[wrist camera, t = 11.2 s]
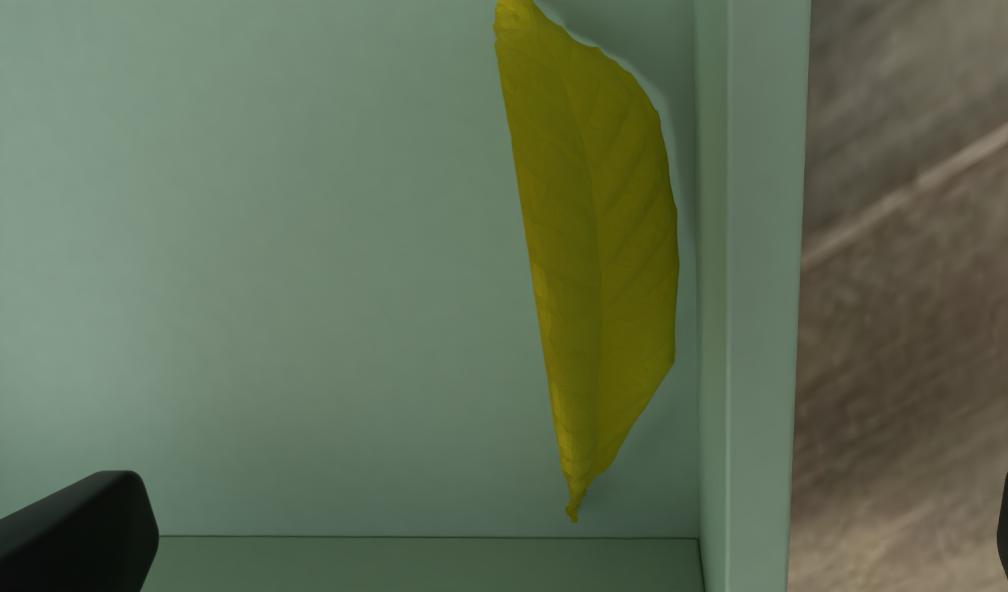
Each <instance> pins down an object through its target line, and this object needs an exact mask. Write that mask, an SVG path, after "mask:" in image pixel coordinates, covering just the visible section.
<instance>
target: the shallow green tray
mask: <svg viewBox="0 0 1008 592" xmlns="http://www.w3.org/2000/svg"><path fill="white" fill-rule="evenodd" d="M533 1H534V3H535V5H537V7H538V8H539V9H540V10H541V11H542V12H543V13H544V15H545V16H546V17H547V18H548V19H550V20H551V21H553V22H554V23H556V24H557V25H561V26H563V27H564V28H565V30H566V31H567V33H568V34H569V35H570V36H571V37H572V38H573V39H575V40H576V41H578V42H579V43H582V44H584V45H587V46H590V47H595V46H596V47H599V48H600V50H601V51H602V52H603V53H604V54H605V55H606V56H607V57H609V58H611V59H612V60H615V61H617V63H618V64H619V66H621V67H622V68H623V69H624V70H626V71H628V72H630V73H632V74H633V76H634V77H635V79H636V80H637V81H638V83H639V85H640V86H641V87H642V88H643V90H644V91H645V92H646V94H647V95H648V97H649V99H650V101H651V103H652V105H653V107H654V108H655V110H657V111H658V113H659V117H660V120H661V131H662V136H663V139H664V142H665V144H666V145H665V147H666V150H667V154H668V158H669V159H668V163H669V175H670V178H671V179H670V183H671V187H672V188H671V189H672V192H673V197H674V202H675V205H676V208H677V212H678V218H677V235H678V238H677V242H678V252H679V261H680V268H679V276H678V291H677V302H676V319H675V348H676V355H675V361H674V364H673V366H672V367H671V369H670V370H669V372H668V373H667V375H666V376H665V378H664V379H663V381H662V382H661V384H660V385H659V387H658V388H657V390H656V392H655V394H654V395H653V397H652V398H651V400H650V401H649V403H648V405H647V406H646V408H645V409H644V411H643V412H642V414H641V415H640V416H639V418H638V419H637V420H636V422H635V423H634V425H633V426H632V428H631V429H630V431H629V433H628V435H627V437H626V439H625V441H624V442H623V444H622V446H621V447H620V449H619V451H618V454H617V456H616V458H615V460H614V461H613V463H612V464H611V465H610V466H609V467H608V469H606V470H605V471H604V472H603V473H602V474H600V475H598V476H596V477H595V478H594V479H593V482H592V484H591V485H590V486H589V488H588V489H587V492H586V495H585V497H584V498H583V499H582V500H581V505H580V506H579V507H578V513H577V518H578V524H577V523H571V521H570V520H571V518H570V517H569V516H568V515H567V514H566V510H565V507H566V504H567V503H568V502H570V494H569V490H568V488H569V487H568V486H567V480H566V478H565V477H564V476H563V472H562V470H561V468H560V467H561V463H560V455H559V452H558V448H559V446H557V439H556V437H557V436H556V434H555V431H554V428H555V427H554V425H553V418H552V412H551V405H550V398H549V390H548V382H547V374H546V369H545V363H544V355H543V350H542V344H541V335H540V331H539V324H538V322H539V320H538V316H537V312H536V310H537V308H536V303H535V298H534V293H533V284H532V276H531V270H530V264H529V257H528V255H529V254H528V248H527V245H526V239H525V228H524V225H523V217H522V210H521V204H520V198H519V192H518V185H517V178H516V171H515V165H514V159H513V152H512V147H511V138H512V136H511V135H510V131H509V126H508V121H507V117H506V110H505V102H504V99H503V98H504V97H503V94H502V87H501V82H500V73H499V70H498V63H497V61H498V58H497V57H496V53H495V48H494V43H495V42H496V41H497V38H496V36H495V32H494V29H493V26H492V25H493V24H494V23H495V8H496V6H497V4H498V3H497V0H0V519H2V518H4V517H6V516H8V515H10V514H12V513H14V512H16V511H18V510H20V509H22V508H24V507H26V506H28V505H30V504H32V503H34V502H36V501H38V500H40V499H42V498H44V497H46V496H49V495H51V494H53V493H55V492H57V491H59V490H61V489H63V488H65V487H67V486H69V485H71V484H73V483H75V482H77V481H79V480H81V479H83V478H85V477H87V476H89V475H91V474H93V473H96V472H98V471H103V470H132V471H134V472H136V473H138V474H139V475H140V477H141V478H142V479H143V482H144V484H145V488H146V491H147V494H148V497H149V500H150V503H151V506H152V510H153V513H154V516H155V519H156V522H157V525H158V529H159V546H158V550H157V553H156V556H155V558H154V561H153V563H152V565H151V568H150V570H149V572H148V575H147V577H146V580H145V582H144V584H143V587H142V589H141V591H140V592H787V586H788V562H789V537H790V513H791V488H792V463H793V439H794V414H795V390H796V365H797V340H798V316H799V291H800V267H801V242H802V218H803V193H804V168H805V144H806V119H807V95H808V70H809V45H810V21H811V0H533Z"/></svg>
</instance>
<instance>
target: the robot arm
mask: <svg viewBox="0 0 1008 592" xmlns="http://www.w3.org/2000/svg"><path fill="white" fill-rule="evenodd" d="M158 546H159V529H158V525H157V522H156V519H155V516H154V513H153V510H152V506H151V503H150V500H149V497H148V494H147V491H146V488H145V484H144V482H143V479H142V478H141V477H140V475H139V474H138V473H136V472H134V471H132V470H103V471H98V472H96V473H93V474H91V475H89V476H87V477H85V478H83V479H81V480H79V481H77V482H75V483H73V484H71V485H69V486H67V487H65V488H63V489H61V490H59V491H57V492H55V493H53V494H51V495H49V496H46V497H44V498H42V499H40V500H38V501H36V502H34V503H32V504H30V505H28V506H26V507H24V508H22V509H20V510H18V511H16V512H14V513H12V514H10V515H8V516H6V517H4V518H2V519H0V592H140V591H141V589H142V587H143V584H144V582H145V580H146V577H147V575H148V572H149V570H150V568H151V565H152V563H153V561H154V558H155V556H156V553H157V550H158ZM997 547H998V553H999V557H1000V560H1001V563H1002V566H1003V568H1004V571H1005V574H1006V576H1007V579H1008V473H1007V475H1006V479H1005V485H1004V491H1003V498H1002V504H1001V510H1000V516H999V523H998V529H997Z"/></svg>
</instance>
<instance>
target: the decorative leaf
mask: <svg viewBox="0 0 1008 592" xmlns="http://www.w3.org/2000/svg"><path fill="white" fill-rule="evenodd" d="M497 3H498V4H497V6H496V8H495V23H494V24H493V25H492V26H493V29H494V32H495V36H496V38H497V41H496V42H495V43H494V48H495V53H496V57H497V58H498V61H497V63H498V70H499V73H500V82H501V87H502V94H503V97H504V98H503V99H504V102H505V110H506V117H507V121H508V126H509V131H510V135H511V136H512V138H511V147H512V152H513V159H514V165H515V171H516V178H517V185H518V192H519V198H520V204H521V210H522V217H523V225H524V228H525V239H526V245H527V248H528V254H529V255H528V257H529V264H530V270H531V276H532V284H533V293H534V298H535V303H536V308H537V310H536V312H537V316H538V320H539V322H538V324H539V331H540V335H541V344H542V350H543V355H544V363H545V369H546V374H547V382H548V390H549V398H550V405H551V412H552V418H553V425H554V427H555V428H554V431H555V434H556V436H557V437H556V439H557V446H559V448H558V452H559V455H560V463H561V467H560V468H561V470H562V472H563V476H564V477H565V478H566V480H567V486H568V487H569V488H568V490H569V494H570V502H568V503H567V504H566V507H565V510H566V514H567V515H568V516H569V517H570V518H571V520H570V521H571V523H577V524H578V518H577V513H578V507H579V506H580V505H581V500H582V499H583V498H584V497H585V495H586V492H587V489H588V488H589V486H590V485H591V484H592V482H593V479H594V478H595V477H596V476H598V475H600V474H602V473H603V472H604V471H605V470H606V469H608V467H609V466H610V465H611V464H612V463H613V461H614V460H615V458H616V456H617V454H618V451H619V449H620V447H621V446H622V444H623V442H624V441H625V439H626V437H627V435H628V433H629V431H630V429H631V428H632V426H633V425H634V423H635V422H636V420H637V419H638V418H639V416H640V415H641V414H642V412H643V411H644V409H645V408H646V406H647V405H648V403H649V401H650V400H651V398H652V397H653V395H654V394H655V392H656V390H657V388H658V387H659V385H660V384H661V382H662V381H663V379H664V378H665V376H666V375H667V373H668V372H669V370H670V369H671V367H672V366H673V364H674V361H675V355H676V348H675V319H676V302H677V291H678V276H679V268H680V261H679V252H678V242H677V238H678V235H677V218H678V212H677V208H676V205H675V202H674V197H673V192H672V189H671V188H672V187H671V183H670V179H671V178H670V175H669V163H668V159H669V158H668V154H667V150H666V147H665V145H666V144H665V142H664V139H663V136H662V131H661V120H660V117H659V113H658V111H657V110H655V108H654V107H653V105H652V103H651V101H650V99H649V97H648V95H647V94H646V92H645V91H644V90H643V88H642V87H641V86H640V85H639V83H638V81H637V80H636V79H635V77H634V76H633V74H632V73H630V72H628V71H626V70H624V69H623V68H622V67H621V66H619V64H618V63H617V61H615V60H612V59H611V58H609V57H607V56H606V55H605V54H604V53H603V52H602V51H601V50H600V48H599V47H596V46H595V47H590V46H587V45H584V44H582V43H579V42H578V41H576V40H575V39H573V38H572V37H571V36H570V35H569V34H568V33H567V31H566V30H565V28H564V27H563V26H561V25H557V24H556V23H554V22H553V21H551V20H550V19H548V18H547V17H546V16H545V15H544V13H543V12H542V11H541V10H540V9H539V8H538V7H537V5H535V3H534V1H533V0H497Z"/></svg>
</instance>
